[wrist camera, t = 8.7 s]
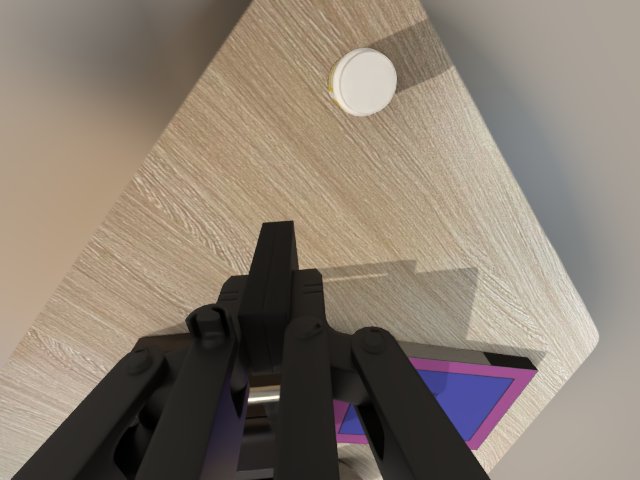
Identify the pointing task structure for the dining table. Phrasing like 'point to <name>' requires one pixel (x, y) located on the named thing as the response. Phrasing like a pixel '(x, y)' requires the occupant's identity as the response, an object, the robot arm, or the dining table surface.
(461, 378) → the book
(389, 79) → the supplement bottle
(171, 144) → the dining table surface
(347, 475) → the potted plant
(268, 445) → the oven door
